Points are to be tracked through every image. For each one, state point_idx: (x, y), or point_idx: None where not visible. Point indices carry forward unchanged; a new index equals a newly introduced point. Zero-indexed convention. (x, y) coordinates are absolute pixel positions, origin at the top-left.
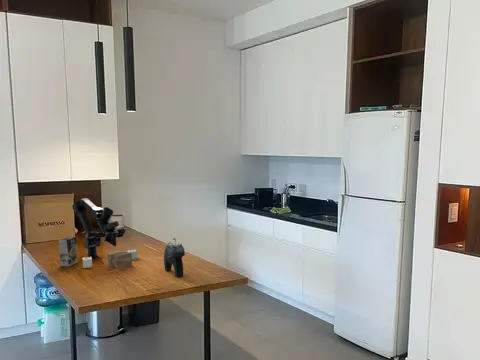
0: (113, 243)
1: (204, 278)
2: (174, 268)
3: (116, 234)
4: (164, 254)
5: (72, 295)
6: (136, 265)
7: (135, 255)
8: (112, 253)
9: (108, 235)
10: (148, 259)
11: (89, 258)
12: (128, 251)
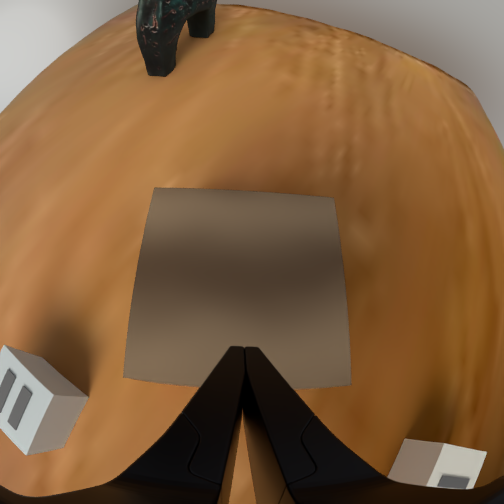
0: (279, 382)
1: None
2: (211, 14)
3: (43, 498)
4: (173, 8)
5: (496, 138)
6: None
7: (31, 358)
8: (310, 334)
9: (482, 486)
10: (22, 272)
11: (448, 466)
12: (38, 415)
